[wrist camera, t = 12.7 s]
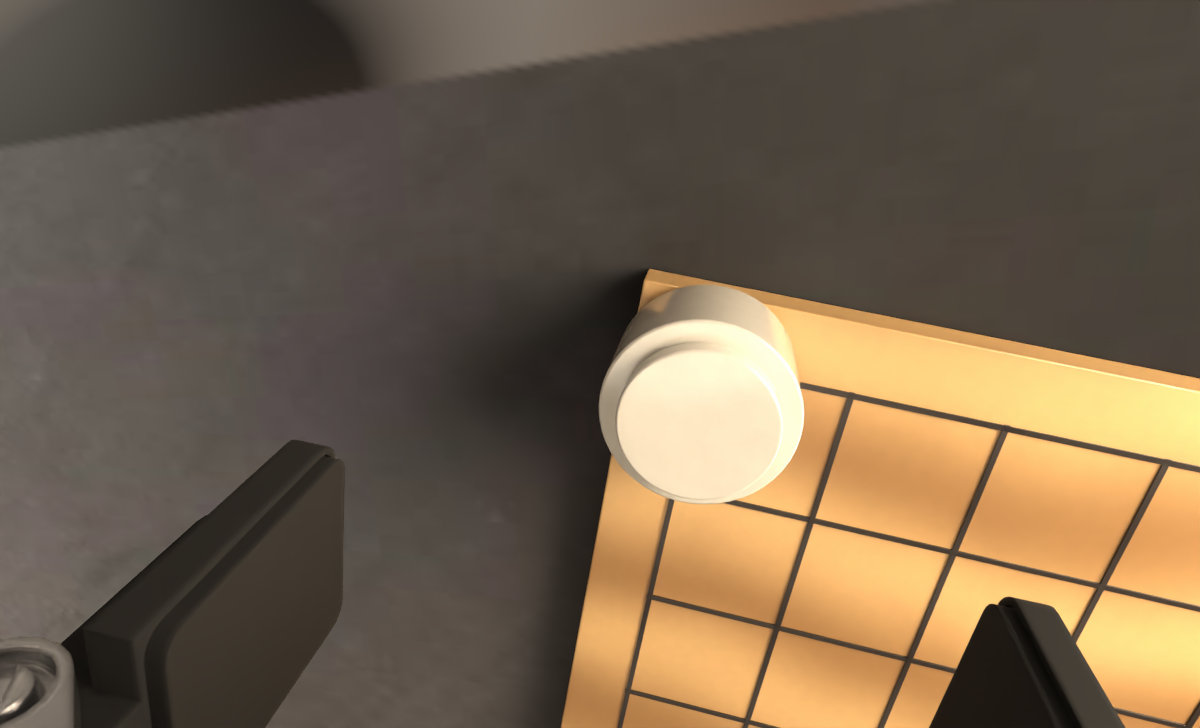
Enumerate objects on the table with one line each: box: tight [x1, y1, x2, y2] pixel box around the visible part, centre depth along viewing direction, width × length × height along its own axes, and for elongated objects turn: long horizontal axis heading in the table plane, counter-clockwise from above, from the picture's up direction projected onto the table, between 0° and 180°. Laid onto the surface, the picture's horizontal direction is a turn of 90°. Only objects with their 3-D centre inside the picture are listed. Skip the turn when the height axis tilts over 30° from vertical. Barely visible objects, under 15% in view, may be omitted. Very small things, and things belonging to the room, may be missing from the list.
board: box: [561, 269, 1200, 728], centre depth 23 cm, size 20×20×1 cm
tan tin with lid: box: [599, 285, 804, 504], centre depth 19 cm, size 5×5×4 cm
